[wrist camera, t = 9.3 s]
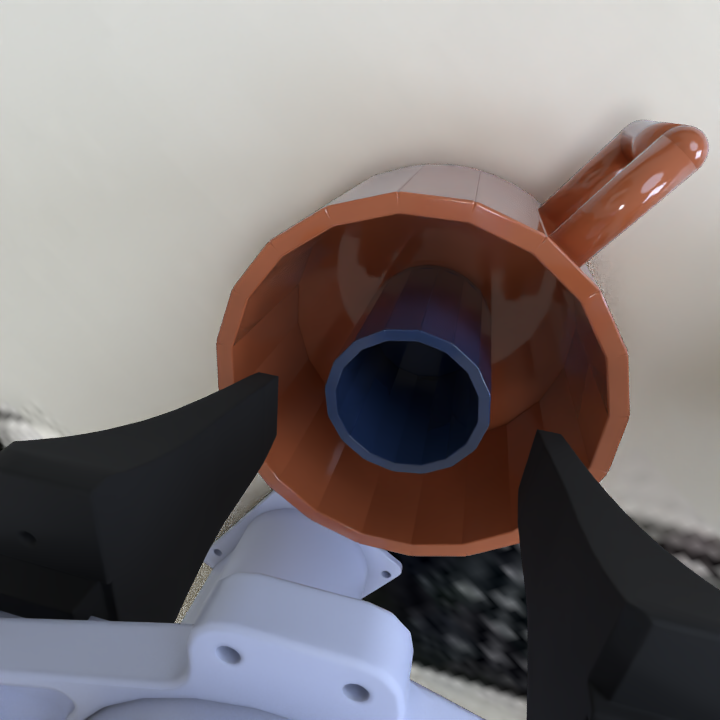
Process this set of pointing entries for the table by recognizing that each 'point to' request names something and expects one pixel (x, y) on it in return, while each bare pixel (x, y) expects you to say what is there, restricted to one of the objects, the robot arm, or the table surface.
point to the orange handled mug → (508, 332)
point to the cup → (415, 373)
